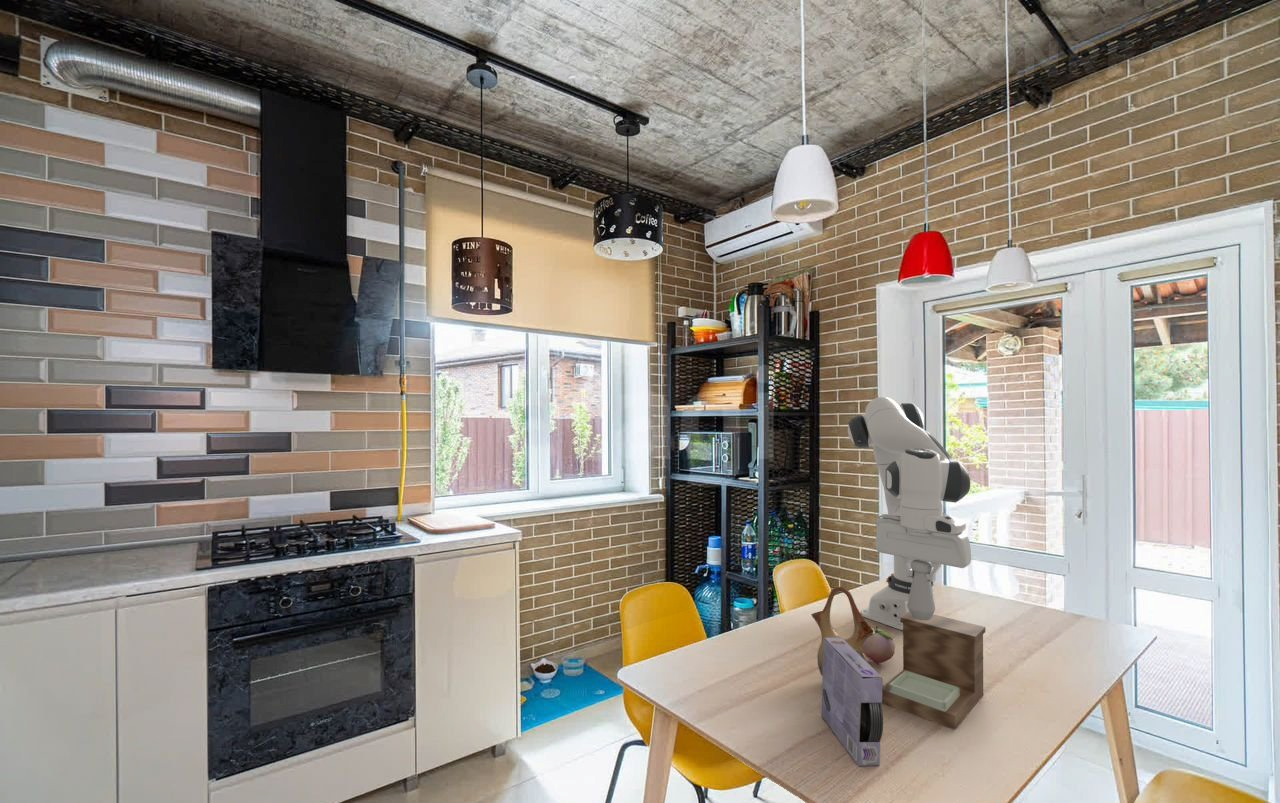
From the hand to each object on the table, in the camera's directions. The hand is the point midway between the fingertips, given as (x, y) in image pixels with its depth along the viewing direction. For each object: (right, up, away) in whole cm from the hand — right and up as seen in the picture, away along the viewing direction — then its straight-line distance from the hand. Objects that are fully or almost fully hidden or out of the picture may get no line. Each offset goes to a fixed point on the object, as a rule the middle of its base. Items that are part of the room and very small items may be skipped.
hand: (920, 578), depth 130 cm
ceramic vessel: (-16, -30, +7) cm, 34 cm away
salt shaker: (0, -9, 0) cm, 9 cm away
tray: (0, -26, -1) cm, 26 cm away
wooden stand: (+5, -29, +3) cm, 30 cm away
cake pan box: (-22, -29, -14) cm, 39 cm away
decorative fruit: (-1, -30, +22) cm, 37 cm away
